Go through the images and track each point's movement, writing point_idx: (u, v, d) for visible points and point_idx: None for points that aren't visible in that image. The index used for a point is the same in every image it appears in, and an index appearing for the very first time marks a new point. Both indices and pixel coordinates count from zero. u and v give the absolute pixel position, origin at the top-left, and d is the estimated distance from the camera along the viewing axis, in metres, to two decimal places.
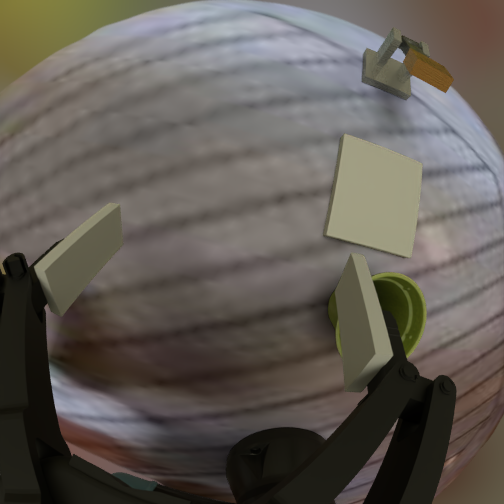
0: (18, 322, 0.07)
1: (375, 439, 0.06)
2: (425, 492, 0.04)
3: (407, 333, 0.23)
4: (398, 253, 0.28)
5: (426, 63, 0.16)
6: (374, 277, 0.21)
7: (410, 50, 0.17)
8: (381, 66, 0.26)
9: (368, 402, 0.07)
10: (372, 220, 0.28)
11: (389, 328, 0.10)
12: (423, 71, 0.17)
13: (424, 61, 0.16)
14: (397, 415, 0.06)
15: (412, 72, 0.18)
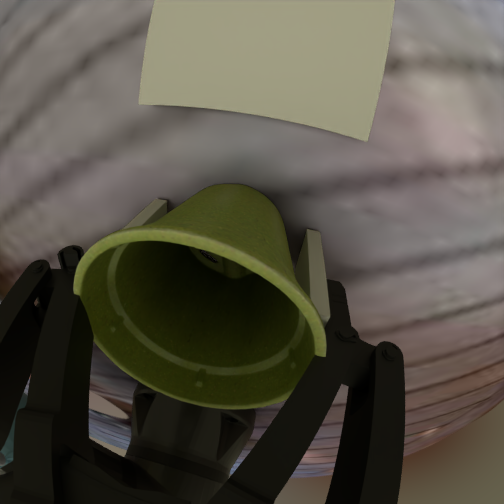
0: (65, 320, 0.07)
1: (323, 403, 0.07)
2: (390, 464, 0.05)
3: (292, 351, 0.11)
4: (329, 127, 0.11)
5: None
6: (107, 242, 0.07)
7: None
8: None
9: (308, 368, 0.08)
10: (245, 52, 0.10)
11: (336, 296, 0.12)
12: None
13: None
14: (342, 377, 0.08)
15: None
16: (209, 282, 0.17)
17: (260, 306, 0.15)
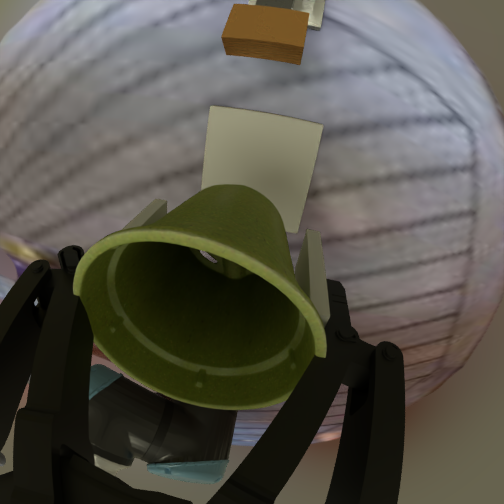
0: (65, 319, 0.07)
1: (323, 403, 0.07)
2: (390, 464, 0.05)
3: (293, 352, 0.11)
4: None
5: (240, 37, 0.11)
6: (107, 243, 0.07)
7: (232, 10, 0.11)
8: None
9: (308, 368, 0.08)
10: None
11: (336, 296, 0.12)
12: (243, 48, 0.12)
13: (238, 33, 0.11)
14: (342, 377, 0.08)
15: (228, 52, 0.13)
16: (209, 283, 0.17)
17: (260, 307, 0.15)
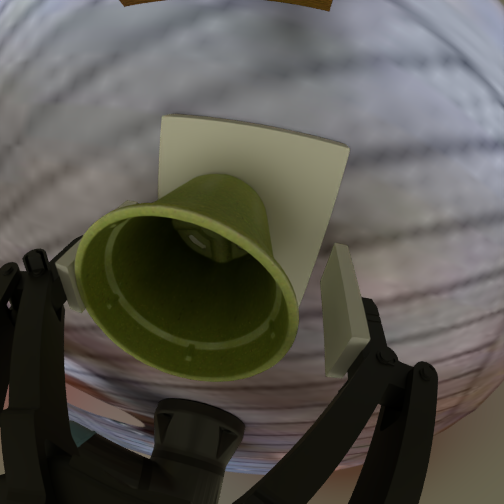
0: (35, 320, 0.07)
1: (357, 425, 0.06)
2: (413, 481, 0.04)
3: (272, 323, 0.12)
4: None
5: None
6: (106, 219, 0.08)
7: None
8: None
9: (346, 388, 0.07)
10: None
11: (370, 315, 0.11)
12: None
13: None
14: (378, 399, 0.07)
15: None
16: (198, 267, 0.18)
17: (244, 286, 0.16)
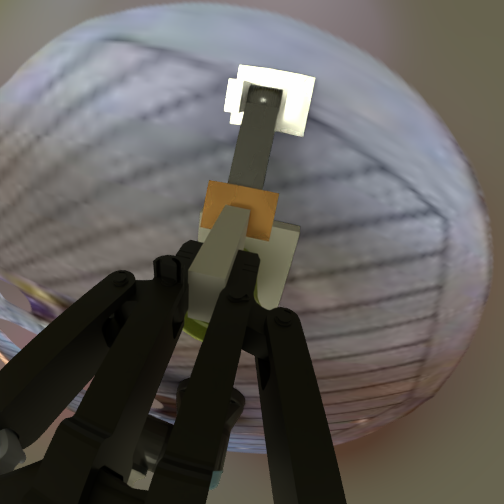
0: (146, 337, 0.08)
1: (230, 366, 0.07)
2: (315, 434, 0.06)
3: None
4: None
5: None
6: None
7: (208, 187, 0.17)
8: None
9: (206, 335, 0.08)
10: None
11: (248, 265, 0.12)
12: None
13: None
14: (242, 336, 0.08)
15: None
16: None
17: None
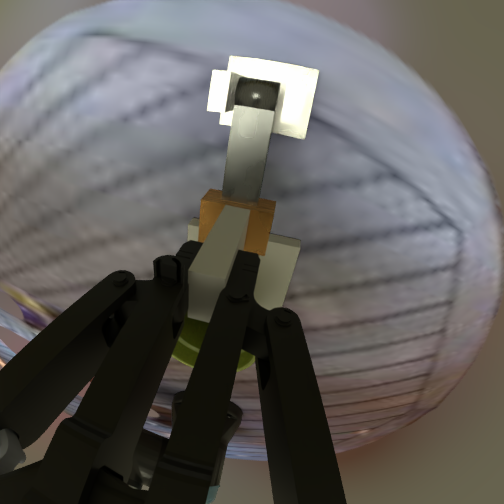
0: (146, 337, 0.08)
1: (230, 366, 0.07)
2: (315, 434, 0.06)
3: None
4: None
5: None
6: None
7: (201, 205, 0.16)
8: None
9: (206, 335, 0.08)
10: None
11: (248, 265, 0.12)
12: None
13: None
14: (242, 336, 0.08)
15: None
16: None
17: None
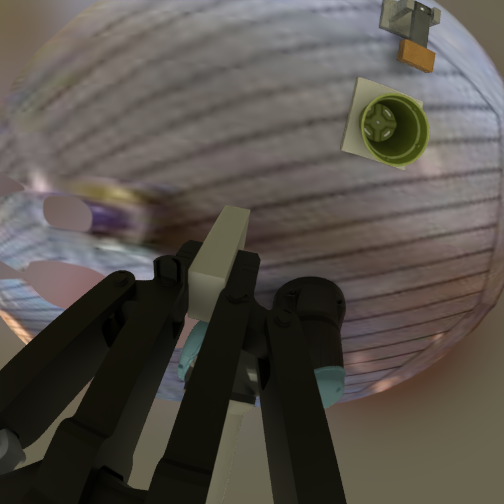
0: (146, 337, 0.08)
1: (229, 365, 0.07)
2: (315, 434, 0.06)
3: (416, 143, 0.29)
4: (394, 166, 0.37)
5: (410, 60, 0.22)
6: (387, 94, 0.25)
7: (404, 41, 0.21)
8: (396, 18, 0.23)
9: (206, 335, 0.08)
10: None
11: (248, 265, 0.12)
12: (407, 62, 0.23)
13: (409, 58, 0.22)
14: (242, 336, 0.08)
15: (399, 60, 0.24)
16: (370, 140, 0.35)
17: (394, 145, 0.33)
